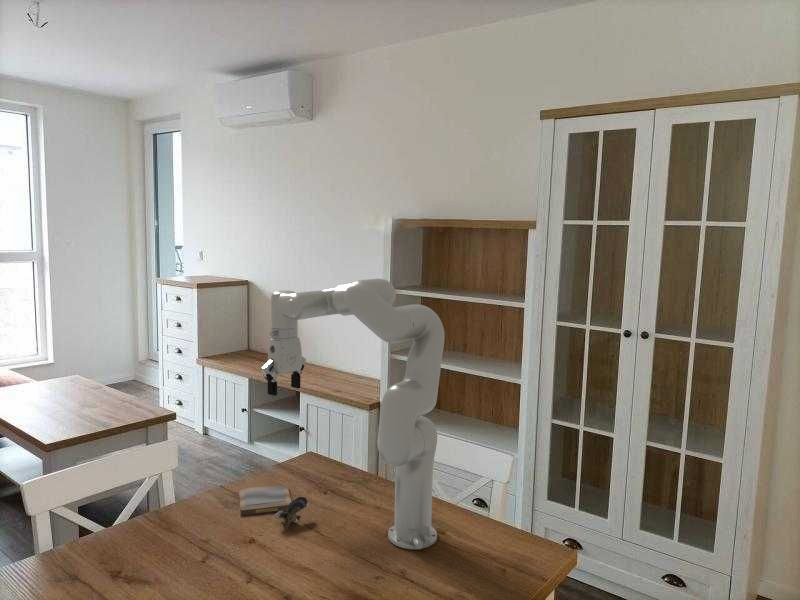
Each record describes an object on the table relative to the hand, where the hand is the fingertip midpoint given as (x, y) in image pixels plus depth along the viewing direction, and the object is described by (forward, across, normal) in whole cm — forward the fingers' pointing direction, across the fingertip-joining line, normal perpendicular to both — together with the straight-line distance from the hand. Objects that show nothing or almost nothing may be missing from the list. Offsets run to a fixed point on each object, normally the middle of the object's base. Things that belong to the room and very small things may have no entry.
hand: (284, 391), depth 172 cm
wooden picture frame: (+31, -7, +1) cm, 32 cm away
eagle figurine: (+31, -12, -15) cm, 37 cm away
